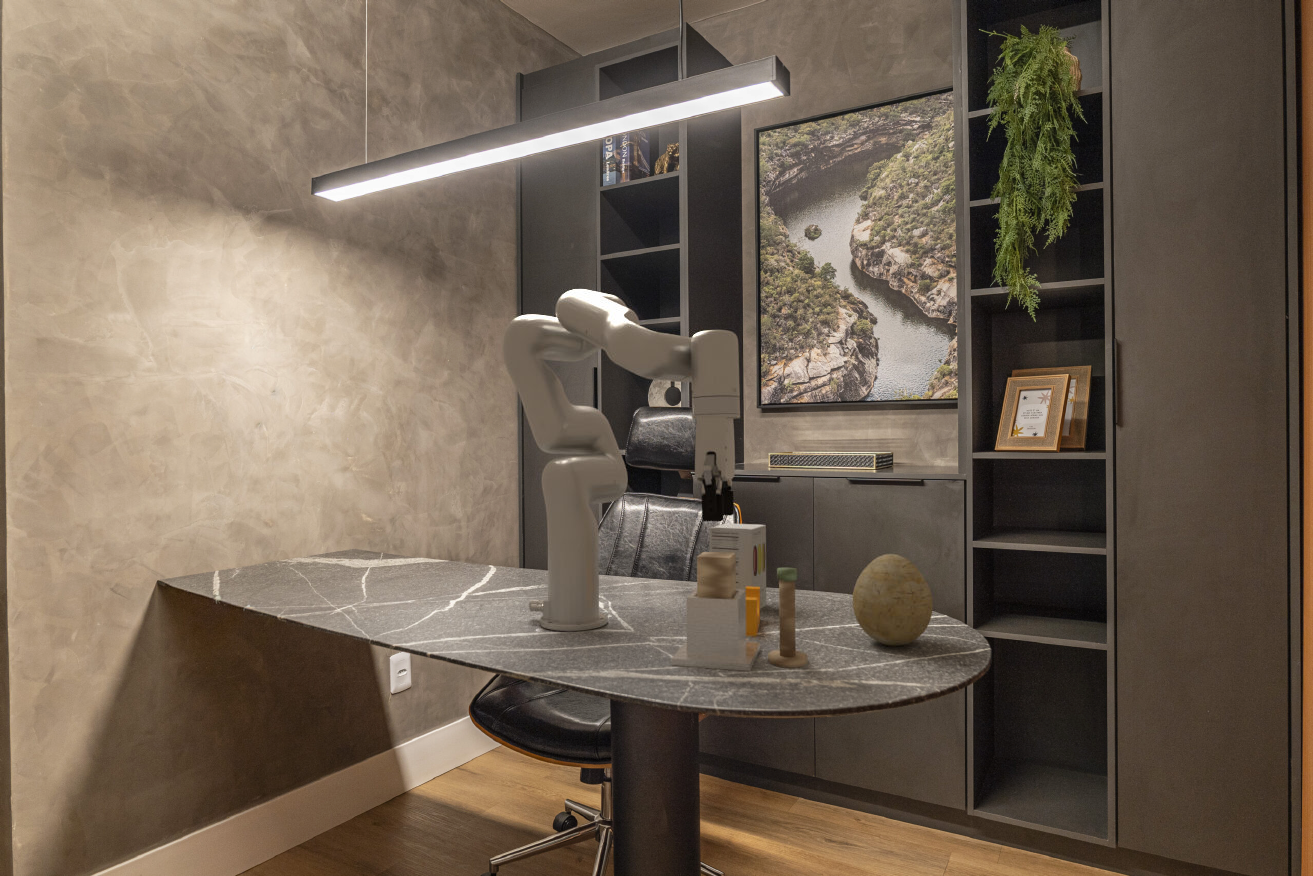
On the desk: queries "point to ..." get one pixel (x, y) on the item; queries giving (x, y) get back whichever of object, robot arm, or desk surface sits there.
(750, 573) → the supplement box
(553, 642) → the desk surface
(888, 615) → the fossilized egg
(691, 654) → the sleeve
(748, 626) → the pipe clamp
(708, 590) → the column
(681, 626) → the desk surface
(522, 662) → the desk surface
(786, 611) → the marker post
